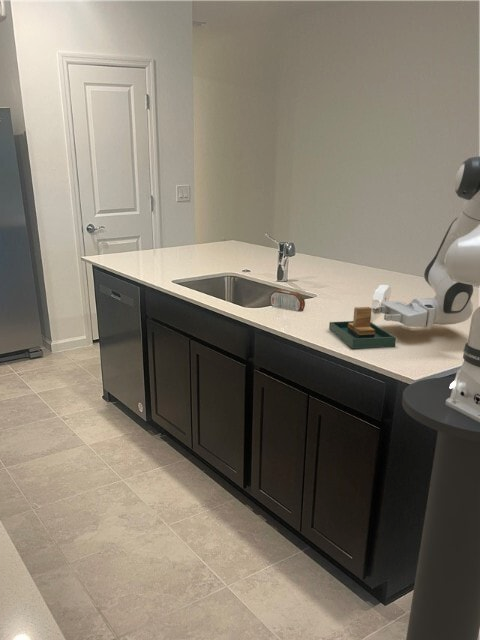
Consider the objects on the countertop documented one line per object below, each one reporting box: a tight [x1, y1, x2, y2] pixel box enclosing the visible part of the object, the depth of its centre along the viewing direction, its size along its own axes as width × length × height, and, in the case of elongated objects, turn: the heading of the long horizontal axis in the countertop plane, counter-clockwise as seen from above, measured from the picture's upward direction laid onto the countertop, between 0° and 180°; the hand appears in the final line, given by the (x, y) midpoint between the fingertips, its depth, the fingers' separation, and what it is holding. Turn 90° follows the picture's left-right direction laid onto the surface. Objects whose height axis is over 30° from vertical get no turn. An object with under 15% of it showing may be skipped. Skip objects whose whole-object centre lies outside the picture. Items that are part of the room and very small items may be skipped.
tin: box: [269, 288, 306, 312], centre depth 212 cm, size 15×3×8 cm, turn 47°
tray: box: [328, 320, 397, 349], centre depth 177 cm, size 22×14×3 cm, turn 6°
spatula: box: [370, 284, 392, 323], centre depth 200 cm, size 38×8×4 cm
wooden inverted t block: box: [348, 306, 375, 338], centre depth 176 cm, size 10×5×9 cm, turn 6°
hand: (378, 314), depth 176 cm, fingers open, 8 cm apart
